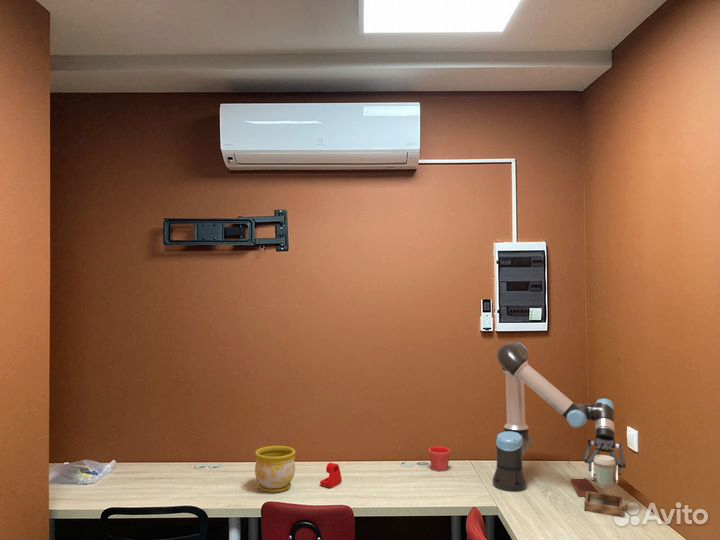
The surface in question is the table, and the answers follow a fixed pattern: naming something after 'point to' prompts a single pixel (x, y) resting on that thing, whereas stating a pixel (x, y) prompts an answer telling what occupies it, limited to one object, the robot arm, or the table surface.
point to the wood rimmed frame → (603, 504)
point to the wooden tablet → (583, 487)
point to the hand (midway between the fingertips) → (604, 479)
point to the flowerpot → (274, 468)
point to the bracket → (332, 476)
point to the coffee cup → (604, 471)
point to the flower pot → (439, 458)
